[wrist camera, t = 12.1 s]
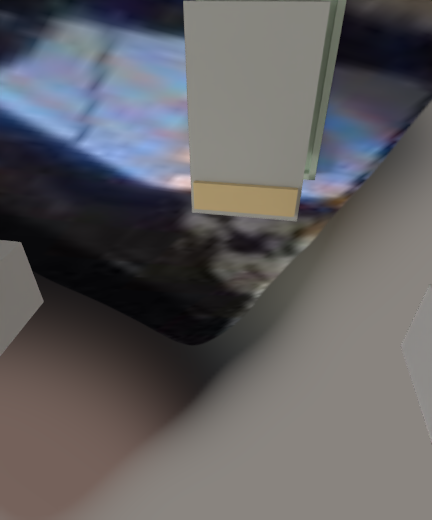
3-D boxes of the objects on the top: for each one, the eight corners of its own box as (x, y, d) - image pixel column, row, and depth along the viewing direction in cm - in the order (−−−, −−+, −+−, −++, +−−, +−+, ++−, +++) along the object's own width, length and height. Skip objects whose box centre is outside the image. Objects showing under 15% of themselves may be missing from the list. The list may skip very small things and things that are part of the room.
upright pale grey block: (221, 148, 30) (191, 214, 21) (222, -1, 24) (181, 0, 15) (295, 153, 29) (296, 223, 20) (315, -1, 23) (331, 1, 14)
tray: (202, 166, 31) (200, 171, 30) (199, -33, 23) (195, -34, 22) (313, 174, 30) (314, 180, 29) (350, -34, 22) (352, -35, 21)
